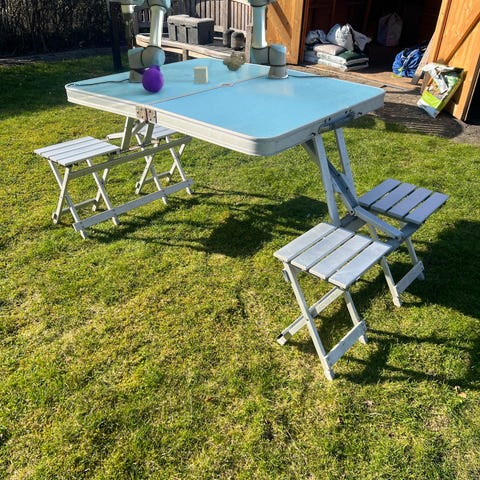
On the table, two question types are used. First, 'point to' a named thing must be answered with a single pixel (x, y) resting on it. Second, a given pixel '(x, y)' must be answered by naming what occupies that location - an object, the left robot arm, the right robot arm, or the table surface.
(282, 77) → the right robot arm
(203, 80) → the brick
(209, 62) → the table surface
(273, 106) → the table surface
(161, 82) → the toy
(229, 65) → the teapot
